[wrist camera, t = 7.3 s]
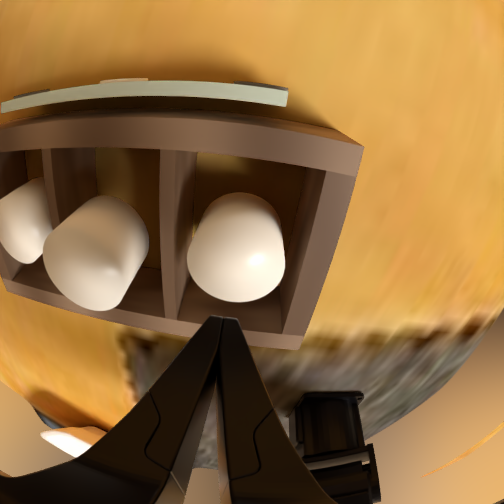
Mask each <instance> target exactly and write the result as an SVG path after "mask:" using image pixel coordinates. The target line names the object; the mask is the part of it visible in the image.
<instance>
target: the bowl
mask: <svg viewBox="0 0 504 504" xmlns="http://www.w3.org/2000/svg"><path fill="white" fill-rule="evenodd" d="M106 433H107V432H105V431H103V430H100V429H98V428H96V427H91V426H87V427H82V428H76V427H68V428H61V429H54V430H48V431H43V432H41V436H42V438H44V439H45V440H47V441H48V442H50V443H51V444H53V445H55V446H56V447H58V448H59V449H61V450H63V451H65V452H67V453H69V454H70V455H72V456H74V457H78V456H80V455H81V454H83V453H84V452H85V451H87V450H88V449H89V448H90V447H91V446H93V445H94V444H95V443H96V442H97V441H98V440H99V439H101V438H102V437H103V436H104V435H105V434H106Z"/></svg>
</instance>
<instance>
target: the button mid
mask: <svg viewBox="0 0 504 504" xmlns="http://www.w3.org/2000/svg"><path fill="white" fill-rule="evenodd" d="M148 250H149V235H148V231H147V228H146V225H145V223H144V221H143V220H142V218H141V217H140V215H139V214H138V213H137V212H136V210H135V209H134V208H133V207H131V206H130V205H129V204H128V203H126V202H124V201H123V200H121V199H118V198H116V197H112V196H96V197H93V198H91V199H89V200H88V201H87V202H85V203H84V204H83V205H82V206H81V207H79V208H78V209H77V210H76V211H75V212H74V213H72V214H71V215H70V216H69V217H68V218H67V219H65V220H64V221H63V222H62V223H61V224H60V225H59V226H58V227H56V228H55V229H54V230H53V231H52V232H51V233H50V234H49V235H48V236H47V238H46V240H45V242H44V245H43V261H44V265H45V268H46V271H47V273H48V275H49V277H50V278H51V280H52V282H53V283H54V285H55V286H56V287H57V288H58V289H59V291H60V292H61V293H62V294H63V295H65V296H66V297H67V298H68V299H70V300H71V301H72V302H74V303H76V304H77V305H79V306H81V307H84V308H86V309H90V310H94V311H106V310H110V309H112V308H114V307H116V306H117V305H118V304H119V303H120V301H121V300H122V298H123V296H124V294H125V293H126V291H127V289H128V287H129V285H130V284H131V282H132V280H133V278H134V277H135V275H136V273H137V271H138V270H139V268H140V266H141V265H142V263H143V261H144V259H145V258H146V256H147V253H148Z"/></svg>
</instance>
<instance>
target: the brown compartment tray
mask: <svg viewBox="0 0 504 504" xmlns="http://www.w3.org/2000/svg"><path fill="white" fill-rule="evenodd" d="M95 147H117V148H147V149H160V184H159V209H160V248H161V268H162V270H159V269H152V268H146V267H140V268H139V270H138V271H137V273H136V275H135V277H134V278H133V280H132V282H131V284H130V285H129V287H128V289H127V291H126V293H125V294H124V296H123V298H122V300H121V301H120V303H119V304H118V305H117V306H116V307H114V308H112V309H110V310H106V311H94V310H90V309H86V308H84V307H81V306H79V305H77V304H76V303H74V302H72V301H71V300H70V299H68V298H67V297H66V296H65V295H63V294H62V293H61V292H60V291H59V289H58V288H57V287H56V286H55V285H54V283H53V282H52V280H51V278H50V277H49V275H48V273H47V271H46V268H45V265H44V261H43V253H42V254H41V255H40V256H39V257H38V258H37V260H36V261H34V262H33V263H29V264H26V263H22V262H19V261H18V260H16V259H15V258H13V257H12V256H11V255H10V254H9V253H8V252H7V251H6V250H5V248H4V247H3V245H2V244H1V242H0V274H1V277H2V280H3V282H4V285H5V287H6V289H7V291H8V292H11V293H14V294H17V295H20V296H23V297H26V298H29V299H32V300H35V301H38V302H41V303H44V304H48V305H51V306H54V307H58V308H61V309H65V310H68V311H72V312H75V313H79V314H83V315H87V316H90V317H94V318H98V319H102V320H107V321H111V322H115V323H119V324H124V325H128V326H133V327H138V328H143V329H148V330H153V331H158V332H163V333H168V334H174V335H180V336H186V337H192V336H193V335H194V334H195V333H196V332H197V330H198V329H199V328H200V327H201V325H202V324H203V323H204V322H205V320H206V319H207V318H208V317H209V316H210V315H216V316H222V317H223V320H224V318H225V317H231V318H237V319H238V321H239V323H240V326H241V328H242V331H243V333H244V336H245V339H246V341H247V344H248V345H250V346H259V347H269V348H280V349H292V350H299V348H300V346H301V343H302V341H303V338H304V336H305V333H306V330H307V328H308V325H309V323H310V320H311V317H312V315H313V312H314V309H315V307H316V304H317V301H318V298H319V296H320V293H321V290H322V287H323V284H324V282H325V279H326V276H327V273H328V270H329V267H330V264H331V261H332V258H333V255H334V252H335V249H336V246H337V243H338V239H339V236H340V233H341V230H342V227H343V223H344V220H345V217H346V213H347V210H348V206H349V203H350V199H351V196H352V192H353V189H354V185H355V181H356V177H357V174H358V170H359V166H360V162H361V158H362V154H363V150H364V147H363V146H362V145H360V144H359V143H357V142H356V141H354V140H353V139H351V138H349V137H348V136H346V135H345V134H343V133H341V132H340V131H338V130H333V129H329V128H324V127H320V126H315V125H310V124H305V123H300V122H294V121H289V120H283V119H277V118H270V117H264V116H256V115H249V114H241V113H231V112H221V111H210V110H196V109H176V108H114V109H95V110H82V111H71V112H62V113H54V114H46V115H39V116H33V117H27V118H21V119H16V120H11V121H8V122H5V123H3V124H0V199H2V198H3V197H5V196H6V195H8V194H9V193H11V192H12V191H14V190H15V189H17V188H19V187H20V186H22V185H23V184H25V183H27V182H28V179H27V172H26V163H25V153H24V150H32V149H42V162H43V172H44V180H45V188H46V195H47V201H48V207H49V213H50V219H51V224H52V229H53V230H54V229H55V228H56V227H58V226H59V225H60V224H61V223H62V222H63V221H64V220H65V219H67V218H68V217H69V216H70V215H71V214H72V213H74V212H75V211H76V210H77V209H78V208H79V207H81V206H82V205H83V204H84V203H85V202H87V201H88V200H89V199H91V198H93V197H96V196H98V195H97V182H96V165H95ZM197 152H203V153H213V154H222V155H231V156H239V157H247V158H254V159H262V160H268V161H275V162H281V163H287V164H293V165H299V166H305V167H306V171H305V176H304V181H303V185H302V190H301V195H300V199H299V204H298V208H297V213H296V217H295V222H294V226H293V231H292V235H291V239H290V244H289V248H288V252H287V257H286V261H285V270H284V274H283V277H282V279H281V282H280V286H276V287H275V288H274V289H273V290H272V291H271V292H270V293H268V294H267V295H265V296H263V297H261V298H259V299H256V300H252V301H248V302H230V301H225V300H221V299H218V298H216V297H214V296H212V295H210V294H208V293H207V292H205V291H204V290H203V289H201V288H200V287H199V286H198V285H197V284H196V282H195V281H194V280H193V278H192V276H191V274H190V272H189V269H188V265H187V253H188V249H189V247H190V244H191V242H192V233H193V209H194V190H195V174H196V160H197Z"/></svg>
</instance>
